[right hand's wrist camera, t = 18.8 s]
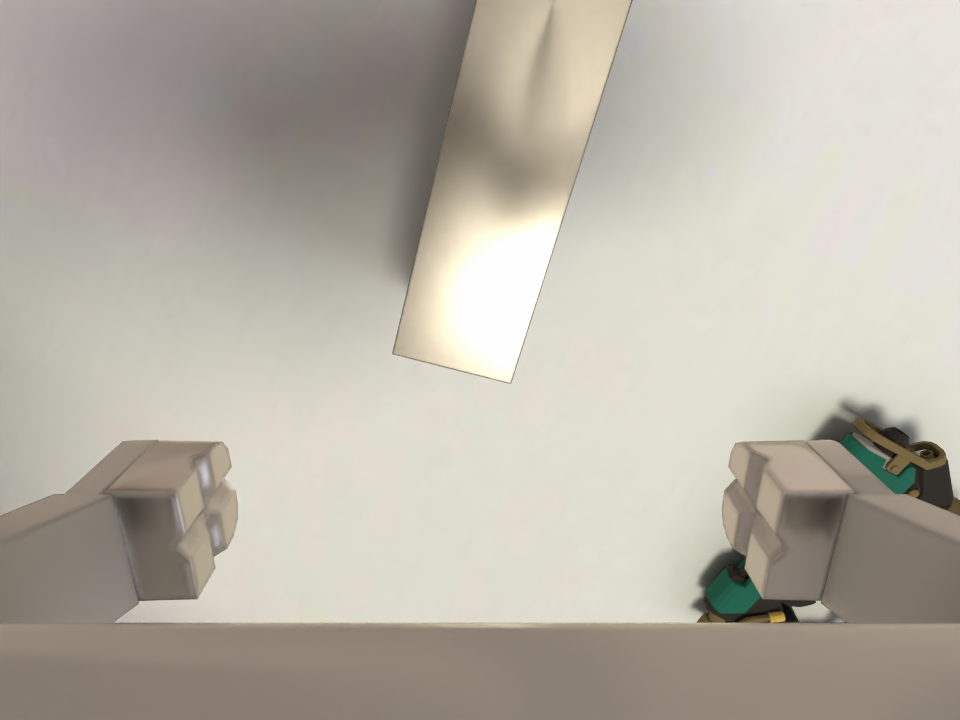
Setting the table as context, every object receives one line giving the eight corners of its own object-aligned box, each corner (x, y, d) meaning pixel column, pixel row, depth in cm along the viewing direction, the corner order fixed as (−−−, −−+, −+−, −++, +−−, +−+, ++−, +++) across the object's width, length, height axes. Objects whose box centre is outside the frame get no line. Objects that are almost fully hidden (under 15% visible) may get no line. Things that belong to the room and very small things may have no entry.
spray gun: (784, 683, 42) (636, 552, 39) (1023, 546, 37) (875, 381, 34) (810, 742, 38) (648, 603, 35) (1082, 599, 33) (921, 418, 30)
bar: (503, 318, 32) (510, 384, 24) (413, 294, 32) (392, 354, 24) (693, -318, 23) (804, -541, 15) (572, -364, 23) (622, -617, 15)
